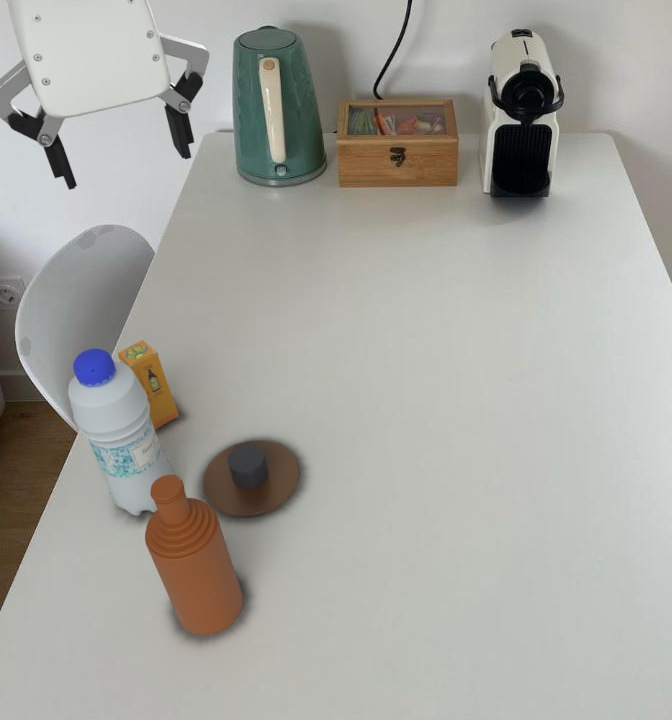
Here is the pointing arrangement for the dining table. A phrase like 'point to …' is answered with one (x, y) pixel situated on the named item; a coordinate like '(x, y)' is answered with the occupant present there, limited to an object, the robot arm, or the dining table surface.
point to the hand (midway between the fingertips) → (127, 166)
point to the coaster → (253, 500)
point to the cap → (248, 466)
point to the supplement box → (151, 381)
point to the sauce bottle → (192, 559)
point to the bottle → (118, 428)
